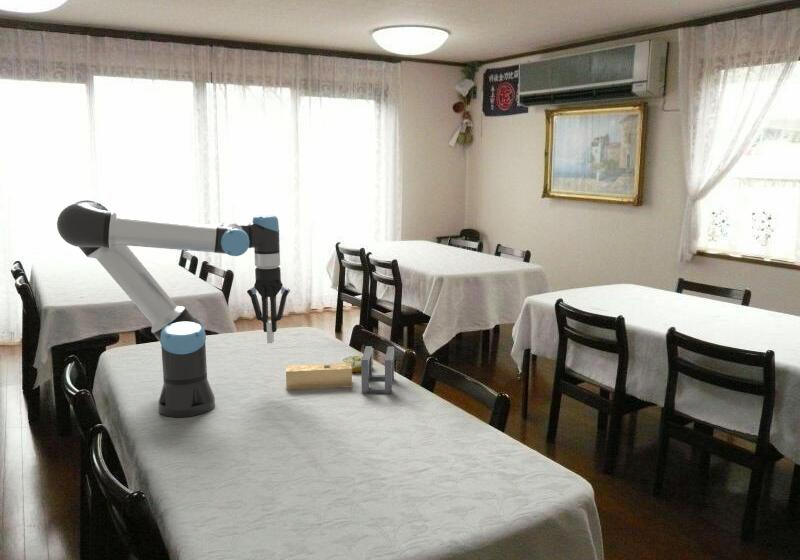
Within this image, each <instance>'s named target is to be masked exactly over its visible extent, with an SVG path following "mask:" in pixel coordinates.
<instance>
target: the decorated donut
mask: <svg viewBox="0 0 800 560" xmlns="http://www.w3.org/2000/svg"><path fill="white" fill-rule="evenodd" d="M362 356H363V354H362V355H361V354H356V355H355V354H354V355H351V356H347V357H345V358H343V359H342V360H341V361H340V363H350V364H351V367H352V374H353V373H355V372H358V373H361V359H362ZM373 365H374V360H373V359H372V367H373Z"/></svg>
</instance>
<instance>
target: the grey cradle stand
mask: <svg viewBox="0 0 800 560" xmlns="http://www.w3.org/2000/svg"><path fill="white" fill-rule="evenodd" d="M372 360H373V346H370V345H366V346H365V348H364V352H363V353H362V359H361V372H360V374H361V394H364V395H365V394H380V395H382V394H385V395H392V393H393V382H394V380H395V346H387V348H386V354H385V358H384V374H373V366H372ZM370 381H384V387H375V386H374V387H373V386H371V387H370Z"/></svg>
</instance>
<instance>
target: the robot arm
mask: <svg viewBox="0 0 800 560" xmlns="http://www.w3.org/2000/svg"><path fill="white" fill-rule="evenodd" d="M56 228H57V231H58V234H59V235H60V237H61V239H63V240H64V241H65V242H66V243H67V244H69V245H71V246H74V247H77V248H79V249H80V250H81V251H82V253H83V254H84V255H85V257H87V258H92V259H95V260H97V261H98V262H99V264H100V265H101V266H102V267H103V268H104V269H105V271H106V272H107V273H108V274H109V275H110V276H111V278H112V279H113V280H114V282H115V283H116V284H118V286H119V287H120V288H121V289H122V290H123V292H124V294H126V295H127V296H128V297H129V299H130V300H131V301H132V302H133V303H134V304H135V306H136V307H137V308H138V310H139V311H140V313H142V314H143V315H144V316H145V317H146V319H148V321H149V322H150V323H151V331H150V332H151V334H153V335H154V337H155V338H156V339H157V340H158V341H159V342H160V345H161V360H162V361H161V362H162V376H163V377H162V379H163V385H162V387H161V392H160V394H159V395H160V396H159V399H158V403H157V404H158V407H157V408H158V413H160V414H161V415H162V414H163V416H165V415H166V417H171V418H185V417H186V418H187V417H194V416H199V415H201V414H205V413H207V412H209V411H211V410H212V409H214V408H215V406H216V405H215V404H216V398H215V394H214V393H213V390H212V388H211V384H210V382H209V380H208V366H207V353H206V352H207V351H206V350H207V349H206V340H207V333H206V330H205V327H204V326H203V324H202V323H201V321H200V320H198V319H197V318H196V317H195V316H193V315H192V314H191V313H190V311H189V310H188V309H187V308H186V307H185V306H184V305H183V306H181V305H177V304H176V303H175V302H174V301H173V299H171V296H169V295H168V293H167V292H166V291H165V290H164V289H163V287H162V286H161V285H160V284H159V283H158V282H157V280H156V279H155V278H154V277H153V275H152V274H151V273H150V271H149V270H148V269H147V268H146V267H145V265H143V263H142V262H141V261H140V260H139V258H138V257H137V256H136V255H135V254H134V252H133V251H132V250H131V249H130V246H131V247H142V248H154V249H167V250H179V251H190V252H203V253H205V252H206V253H217V254H226V255H229V256H230V257H231V256H232V257H239V256H242V255H244V254H245V253H246V252H247V251H248V249H254V266H255V269H254V271H255V274H254V275H255V282H254V285H253V287H250V288H248V290H246V292H247V295H249V297H250V300H251V303H252V306H253V309H254V313H255V317H256V320H257V321H260V322H262V323H263V324H262V325H263V326H262V327H263V329H262V330H263V332H264V333H266V341H267V344H273V343H274V341H275V336H274V335H275V333H277V329H278V326H277V323H278V321H281V320H282V319H283V316H284V311H285V308H286V307H285V306H286V303H287V296H288V295H289V293H290V292H291V289H290V288H286V287H285V286H284V285H283V282H282V276H281V275H282V274H281V267H280V265H281V252H280V250H281V248H280V229H279V228H280V227H279V219H278V217H277V216H276V215H270V214H265V215H264V214H262V215H254V216H253V218H252V221H251V222H242V223H241V222H240V223H239V222H238V223H237V222H235V223H232V222H231V223H230V222H229V223H227V222H226V223H225V222H222V223H215V224H203V223H193V222H192V223H191V222H183V221H173V220H163V219H152V218H142V217H134V216H133V217H131V216H122V215H120V216H119V215H117V213H116V212H114V211H112V210H111V211H110V210H108V209H107V207H106V206H104V205H103V204H101V203H98V202H97V201H94V200H80V201H77V202H75V203H72V204H70V205H68V206H66V207H64V208H63V209H62V211H61V212H60V213H59V215H58V218H57V222H56ZM257 293H258V294H259V295H260V296H261V306H260V302H259V299H258V296H257ZM279 293H281V297H280V302H279V306H278V309H277V295H278V294H279ZM269 302H270V304H269ZM269 305H270V318H269ZM277 310H278V312H277Z"/></svg>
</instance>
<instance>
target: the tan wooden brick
mask: <svg viewBox="0 0 800 560" xmlns="http://www.w3.org/2000/svg"><path fill="white" fill-rule="evenodd" d="M285 382H286V384H285V385H286V390H287V391H288V390H303V389H304V390H305V389H307V390H309V389H325V388H329V389H330V388H344V387H345V388H348V387H349V388H350V387H353V373H352V367H351V364H350V363H341V362H337V363H316V364H296V365H295V364H294V365H285Z"/></svg>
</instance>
